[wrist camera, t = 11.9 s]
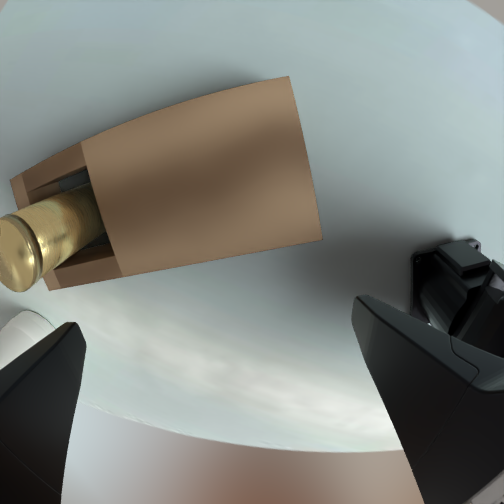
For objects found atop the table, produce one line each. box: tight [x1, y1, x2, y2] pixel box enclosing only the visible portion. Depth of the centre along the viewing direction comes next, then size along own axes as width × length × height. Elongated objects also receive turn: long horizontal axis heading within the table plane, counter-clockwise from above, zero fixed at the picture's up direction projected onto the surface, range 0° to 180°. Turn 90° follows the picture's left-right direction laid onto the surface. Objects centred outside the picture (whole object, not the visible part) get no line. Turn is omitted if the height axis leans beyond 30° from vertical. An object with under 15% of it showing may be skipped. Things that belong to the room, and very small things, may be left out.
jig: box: [10, 76, 323, 291], centre depth 19 cm, size 9×20×4 cm, turn 103°
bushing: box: [0, 182, 106, 292], centre depth 17 cm, size 4×4×10 cm
